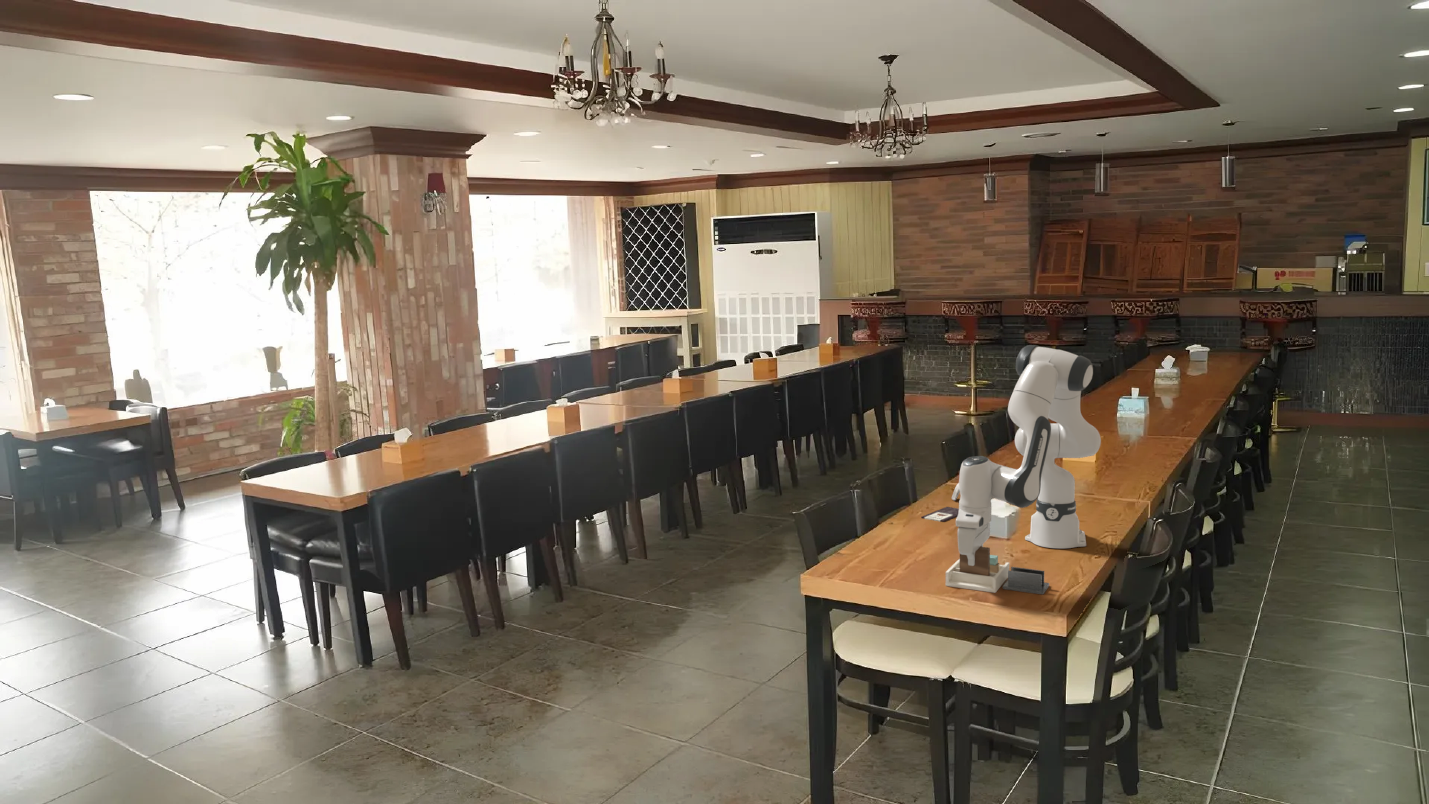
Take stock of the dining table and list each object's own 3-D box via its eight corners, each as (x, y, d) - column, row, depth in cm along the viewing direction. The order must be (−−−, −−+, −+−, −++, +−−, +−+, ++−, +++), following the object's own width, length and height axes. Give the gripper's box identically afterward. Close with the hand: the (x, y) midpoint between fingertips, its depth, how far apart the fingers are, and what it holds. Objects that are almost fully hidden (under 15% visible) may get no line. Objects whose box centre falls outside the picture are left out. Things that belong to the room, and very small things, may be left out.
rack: (961, 569, 288) (961, 556, 287) (1009, 575, 281) (1009, 562, 280) (945, 585, 274) (945, 572, 273) (995, 592, 267) (995, 578, 266)
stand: (1009, 580, 277) (1009, 564, 276) (1049, 585, 271) (1049, 569, 270) (1002, 588, 270) (1002, 572, 269) (1043, 594, 264) (1043, 577, 264)
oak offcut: (968, 568, 285) (968, 559, 284) (999, 572, 280) (999, 562, 280) (965, 571, 282) (965, 561, 282) (996, 575, 278) (996, 565, 277)
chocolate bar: (968, 510, 353) (943, 520, 340) (968, 512, 353) (943, 523, 340) (947, 506, 359) (921, 516, 346) (947, 509, 359) (921, 519, 346)
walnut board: (961, 578, 277) (961, 544, 276) (989, 581, 273) (989, 547, 272) (959, 580, 275) (959, 546, 274) (987, 584, 271) (988, 549, 270)
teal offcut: (973, 559, 284) (973, 552, 284) (997, 562, 280) (997, 555, 280) (970, 562, 281) (971, 555, 281) (995, 565, 278) (995, 558, 278)
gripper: (973, 504, 282) (973, 550, 284) (953, 522, 264) (953, 570, 266) (995, 506, 279) (995, 553, 281) (976, 524, 261) (976, 573, 263)
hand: (974, 561), depth 273 cm, fingers open, 5 cm apart
